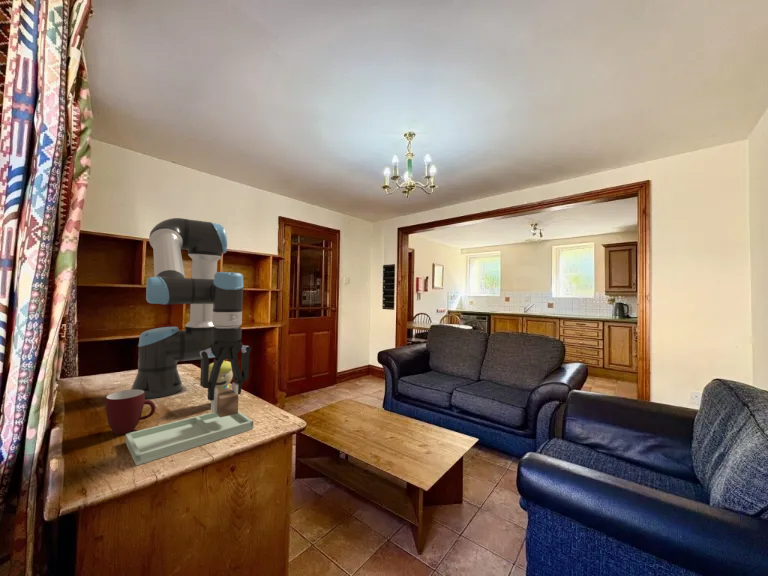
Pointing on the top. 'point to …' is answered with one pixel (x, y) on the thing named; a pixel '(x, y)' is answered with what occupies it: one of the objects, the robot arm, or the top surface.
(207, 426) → the jig
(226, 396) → the brown rectangular block
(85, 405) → the top surface
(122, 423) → the mug
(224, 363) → the toy
